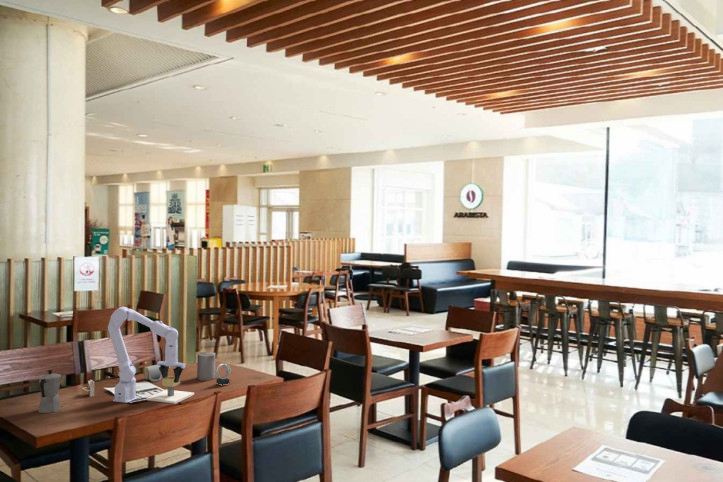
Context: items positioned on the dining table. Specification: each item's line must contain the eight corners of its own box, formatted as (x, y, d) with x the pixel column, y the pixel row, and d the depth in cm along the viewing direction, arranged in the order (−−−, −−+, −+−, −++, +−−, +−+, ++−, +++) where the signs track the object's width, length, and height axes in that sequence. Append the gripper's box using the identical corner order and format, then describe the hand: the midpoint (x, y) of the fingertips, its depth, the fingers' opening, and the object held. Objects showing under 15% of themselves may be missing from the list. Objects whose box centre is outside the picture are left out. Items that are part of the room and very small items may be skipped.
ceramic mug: (142, 378, 316) (143, 364, 316) (157, 376, 321) (157, 362, 321) (149, 383, 308) (150, 369, 307) (165, 381, 313) (165, 366, 313)
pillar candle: (196, 376, 323) (197, 349, 323) (214, 375, 326) (215, 349, 326) (197, 381, 314) (197, 353, 313) (215, 380, 317) (216, 352, 316)
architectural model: (86, 398, 279) (87, 383, 279) (82, 395, 284) (82, 380, 284) (94, 397, 282) (94, 381, 282) (89, 394, 287) (89, 379, 287)
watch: (232, 384, 309) (232, 363, 309) (219, 386, 303) (219, 365, 303) (226, 382, 313) (226, 361, 313) (213, 384, 307) (213, 364, 307)
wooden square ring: (172, 387, 279) (172, 379, 279) (162, 385, 280) (162, 378, 280) (179, 384, 284) (179, 376, 284) (169, 382, 286) (169, 375, 286)
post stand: (175, 403, 272) (175, 391, 272) (146, 400, 277) (146, 388, 277) (194, 394, 288) (194, 383, 288) (166, 391, 292) (166, 380, 292)
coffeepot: (45, 405, 265) (45, 366, 265) (66, 405, 266) (67, 366, 266) (29, 416, 250) (29, 374, 249) (52, 416, 250) (52, 374, 250)
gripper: (189, 353, 284) (188, 381, 284) (163, 351, 288) (163, 378, 288) (180, 356, 277) (180, 384, 277) (154, 353, 281) (154, 381, 281)
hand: (171, 381), depth 282 cm, fingers closed on wooden square ring, 6 cm apart
